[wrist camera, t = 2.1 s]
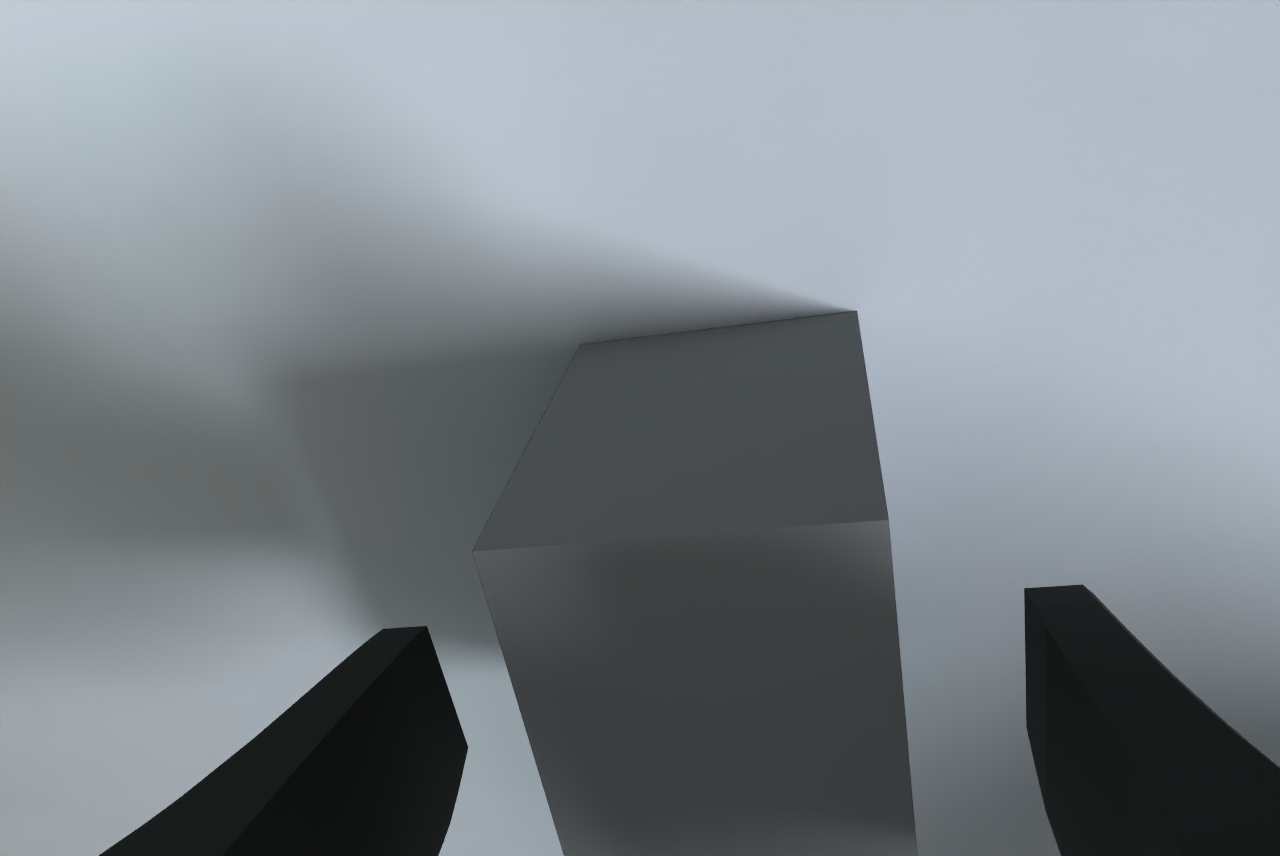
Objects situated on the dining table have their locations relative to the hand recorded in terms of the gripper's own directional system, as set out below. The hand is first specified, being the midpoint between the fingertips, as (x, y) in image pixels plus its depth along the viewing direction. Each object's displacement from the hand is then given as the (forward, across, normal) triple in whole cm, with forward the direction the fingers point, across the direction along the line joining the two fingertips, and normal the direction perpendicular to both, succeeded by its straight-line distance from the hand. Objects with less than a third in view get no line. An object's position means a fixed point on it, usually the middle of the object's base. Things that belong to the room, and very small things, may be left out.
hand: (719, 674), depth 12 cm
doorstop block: (+4, 0, 0) cm, 4 cm away
